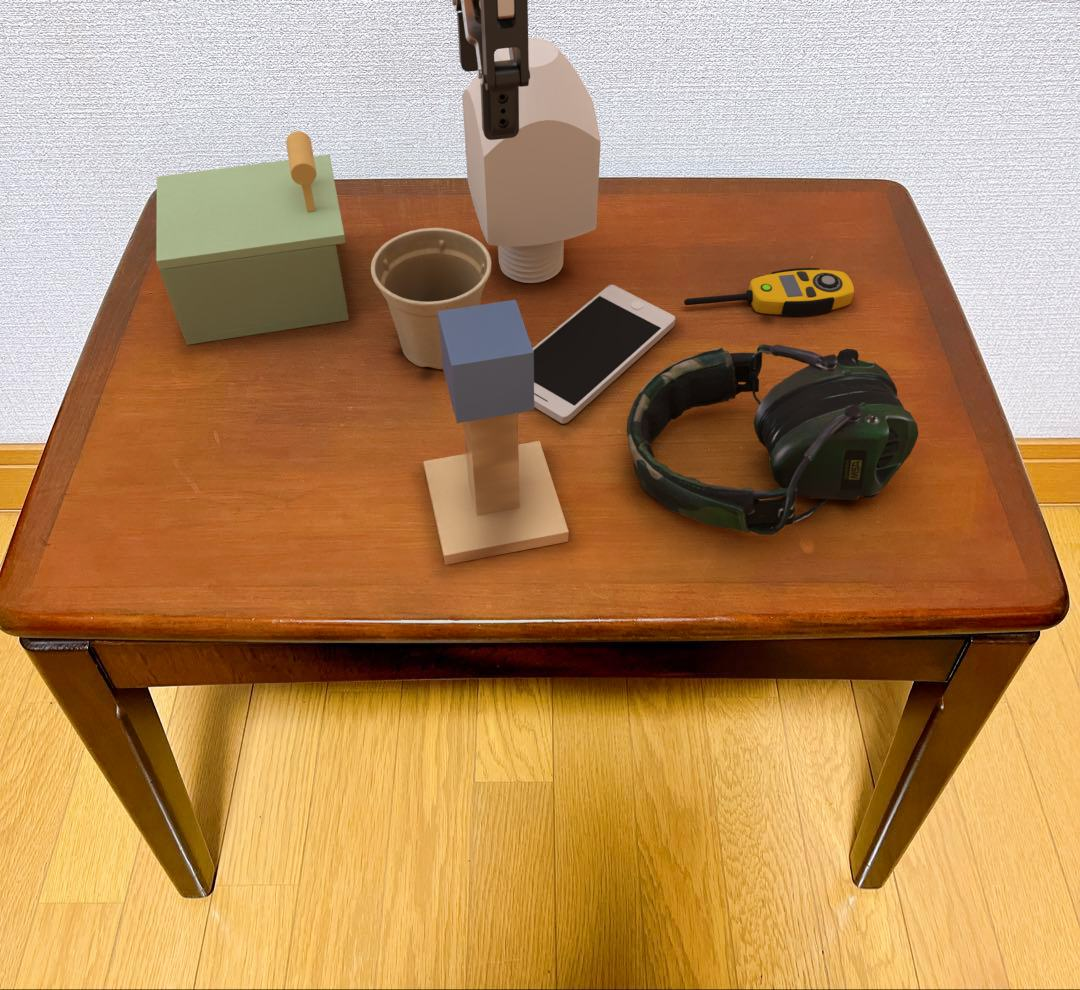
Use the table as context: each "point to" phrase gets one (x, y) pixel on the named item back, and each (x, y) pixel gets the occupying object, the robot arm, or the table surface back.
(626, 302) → the smartphone
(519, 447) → the post
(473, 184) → the light fixture
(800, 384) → the headphones
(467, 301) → the flower pot
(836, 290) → the yellow walkie talkie
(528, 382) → the block
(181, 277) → the chest
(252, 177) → the lid
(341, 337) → the table surface
